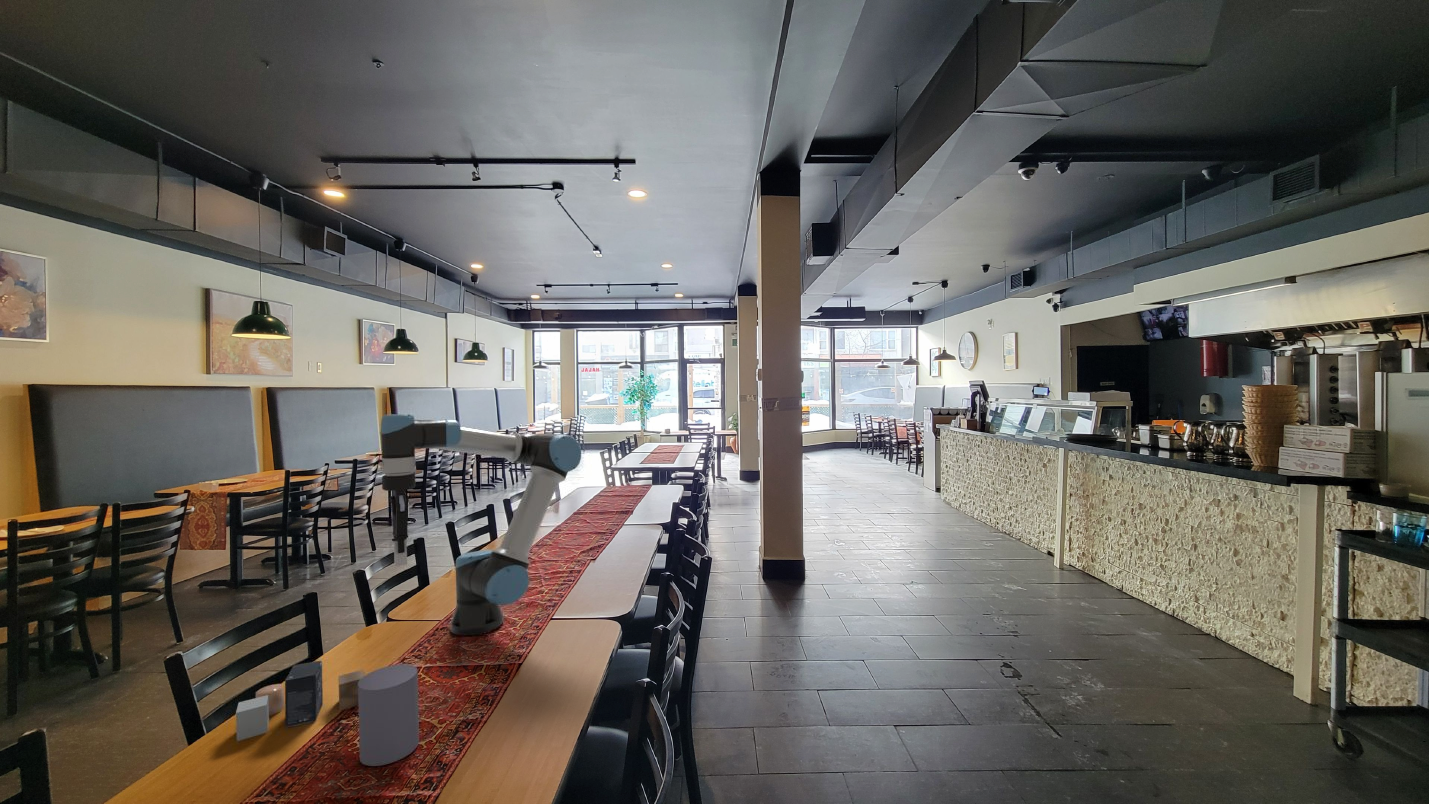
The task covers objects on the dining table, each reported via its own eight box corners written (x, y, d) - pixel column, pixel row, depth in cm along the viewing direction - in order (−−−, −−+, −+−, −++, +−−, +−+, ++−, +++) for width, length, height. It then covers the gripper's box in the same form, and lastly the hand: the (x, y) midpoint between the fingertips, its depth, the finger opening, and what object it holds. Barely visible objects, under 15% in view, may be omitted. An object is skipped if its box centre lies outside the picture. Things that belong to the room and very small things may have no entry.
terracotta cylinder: (288, 704, 129) (288, 682, 129) (276, 716, 124) (275, 694, 124) (264, 706, 128) (264, 685, 128) (251, 718, 124) (250, 696, 123)
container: (404, 765, 106) (402, 688, 106) (348, 769, 106) (346, 691, 105) (427, 733, 117) (426, 662, 117) (376, 736, 116) (375, 665, 116)
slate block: (268, 721, 122) (268, 694, 122) (267, 732, 118) (266, 704, 118) (239, 730, 119) (238, 702, 119) (236, 741, 115) (236, 712, 115)
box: (316, 721, 122) (315, 673, 122) (284, 728, 119) (283, 680, 119) (323, 704, 129) (322, 659, 129) (293, 710, 127) (292, 664, 126)
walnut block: (364, 694, 133) (363, 669, 133) (365, 703, 129) (364, 677, 129) (339, 701, 130) (338, 676, 130) (339, 710, 126) (339, 684, 126)
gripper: (379, 472, 146) (381, 561, 146) (384, 477, 135) (386, 573, 135) (411, 470, 150) (413, 556, 150) (418, 474, 139) (420, 567, 140)
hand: (400, 564), depth 143 cm, fingers closed
